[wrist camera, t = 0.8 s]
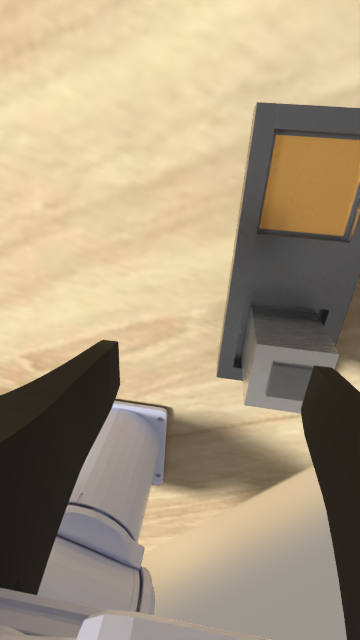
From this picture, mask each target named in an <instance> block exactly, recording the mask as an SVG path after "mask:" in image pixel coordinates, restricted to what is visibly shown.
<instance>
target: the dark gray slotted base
mask: <svg viewBox="0 0 360 640" xmlns="http://www.w3.org/2000/svg"><path fill="white" fill-rule="evenodd" d="M359 275H360V108H346V107H328V106H311V105H293V104H276V103H258V102H257V104H256V106H255V108H254V114H253V121H252V128H251V135H250V142H249V149H248V156H247V163H246V170H245V176H244V183H243V190H242V197H241V204H240V211H239V218H238V225H237V232H236V238H235V245H234V252H233V259H232V266H231V273H230V280H229V287H228V294H227V301H226V307H225V314H224V321H223V328H222V335H221V342H220V349H219V356H218V363H217V377H219V378H226V379H234V380H241V381H243V378H242V361H241V354H242V349H243V343H244V338H245V332H246V327H247V322H248V316H249V311H250V305H251V304H260V305H268V306H277V307H286V308H294V309H303V310H312V311H316V313H317V315H318V317H319V318H320V320H321V322H322V324H323V325H324V327H325V329H326V331H327V333H328V334H329V336H330V338H331V340H332V341H333V343H334V345H336V342H337V339H338V336H339V333H340V330H341V328H342V325H343V322H344V319H345V316H346V313H347V310H348V307H349V304H350V301H351V298H352V295H353V293H354V290H355V287H356V284H357V281H358V278H359Z"/></svg>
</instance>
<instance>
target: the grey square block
mask: <svg viewBox="0 0 360 640" xmlns="http://www.w3.org/2000/svg"><path fill="white" fill-rule="evenodd" d="M339 356H340V354H339V352H338V350H337V349H336V347H335V345H334V343H333V341H332V340H331V338H330V336H329V334H328V333H327V331H326V329H325V327H324V325H323V324H322V322H321V320H320V318H319V317H318V315H317V313H316V311H312V310H303V309H294V308H286V307H277V306H268V305H260V304H251V305H250V311H249V316H248V322H247V327H246V332H245V338H244V343H243V349H242V354H241V361H242V378H243V394H244V405H246V406H253V407H260V408H267V409H274V410H281V411H288V412H295V413H301V406H302V403H303V400H304V396H305V393H306V390H307V386H308V383H309V380H310V377H311V373H312V370H313V367H314V365H315V366H323V367H332V368H333V369H334V370H335V367H336V364H337V361H338V358H339Z"/></svg>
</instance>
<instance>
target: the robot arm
mask: <svg viewBox="0 0 360 640" xmlns="http://www.w3.org/2000/svg"><path fill="white" fill-rule="evenodd" d="M119 386H120V373H119V349H118V342H116V341H108V340H102V341H100V342H98V343H96V344H95V345H93V346H92V347H90V348H89V349H87V350H85V351H84V352H82V353H81V354H79V355H78V356H76V357H74V358H73V359H71V360H70V361H68V362H66V363H65V364H63V365H61V366H60V367H58V368H56V369H54V370H53V371H51V372H49V373H47V374H45V375H44V376H42V377H40V378H38V379H36V380H34V381H32V382H30V383H28V384H26V385H24V386H22V387H19V388H17V389H15V390H13V391H11V392H8V393H6V394H3V395H1V396H0V640H273V639H268V638H263V637H258V636H253V635H248V634H243V633H238V632H233V631H228V630H223V629H218V628H214V627H209V626H204V625H199V624H194V623H189V622H184V621H179V620H174V619H169V618H164V617H160V616H155V615H154V606H155V595H154V588H153V585H152V579H151V575H150V572H149V571H148V569H146V568H144V567H142V566H141V563H142V558H143V554H144V549H145V548H144V547H143V546H142V545H140V544H138V539H139V535H140V531H141V527H142V522H143V518H144V514H145V510H146V505H147V501H148V497H149V493H150V489H151V484H152V485H161V484H162V483H163V476H164V460H165V444H166V428H167V410H166V409H164V408H161V407H154V406H147V405H140V404H134V403H127V402H120V401H115V398H116V395H117V392H118V389H119ZM301 415H302V422H303V428H304V434H305V438H306V441H307V445H308V448H309V452H310V455H311V458H312V462H313V465H314V468H315V472H316V475H317V478H318V482H319V485H320V488H321V492H322V495H323V499H324V503H325V507H326V510H327V516H328V521H329V526H330V532H331V537H332V542H333V548H334V554H335V560H336V566H337V572H338V577H339V584H340V591H341V598H342V605H343V612H344V618H345V627H346V635H347V640H360V392H359V391H358V390H357V389H356V388H355V387H354V386H352V385H351V384H350V383H349V382H348V381H347V380H346V379H345V378H344V377H342V376H341V375H340V374H339V373H338V372H337V371H335V370H334V369H333V368H332V367H323V366H315V365H314V367H313V370H312V373H311V377H310V380H309V383H308V386H307V390H306V393H305V396H304V400H303V403H302V406H301ZM159 417H161V418H163V419H161V418H159Z"/></svg>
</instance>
